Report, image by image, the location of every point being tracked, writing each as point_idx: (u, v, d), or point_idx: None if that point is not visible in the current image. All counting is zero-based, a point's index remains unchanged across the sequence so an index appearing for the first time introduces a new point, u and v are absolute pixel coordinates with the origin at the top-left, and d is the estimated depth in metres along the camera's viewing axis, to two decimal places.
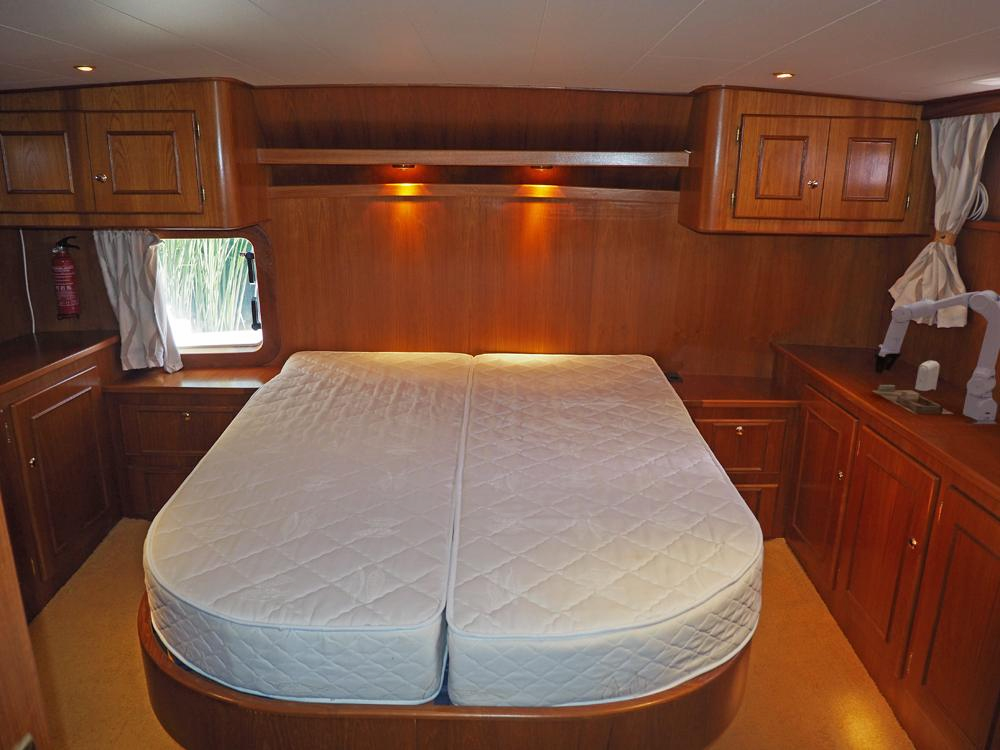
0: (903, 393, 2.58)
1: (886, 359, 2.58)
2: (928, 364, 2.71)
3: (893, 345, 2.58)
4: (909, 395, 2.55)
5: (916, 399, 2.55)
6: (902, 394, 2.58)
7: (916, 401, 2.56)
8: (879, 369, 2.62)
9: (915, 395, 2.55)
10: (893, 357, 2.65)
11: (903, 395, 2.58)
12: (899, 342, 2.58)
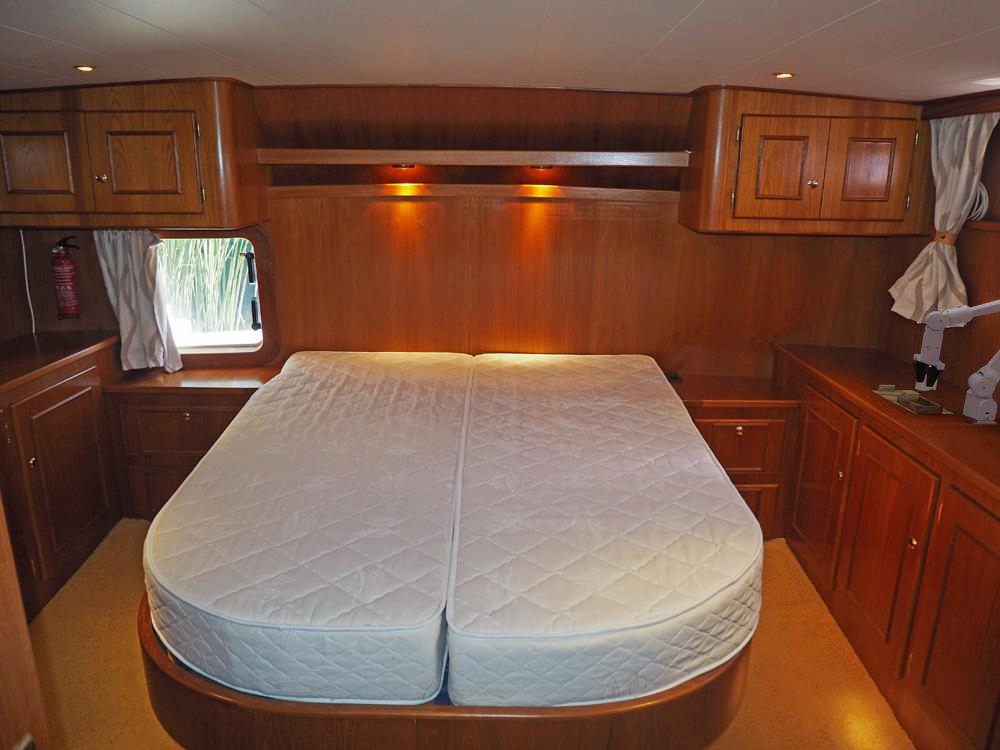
0: (903, 393, 2.58)
1: (941, 370, 2.42)
2: None
3: (938, 355, 2.43)
4: (909, 395, 2.55)
5: (916, 399, 2.55)
6: (902, 394, 2.58)
7: (916, 401, 2.56)
8: (931, 382, 2.45)
9: (915, 395, 2.55)
10: (924, 368, 2.50)
11: (903, 395, 2.58)
12: None
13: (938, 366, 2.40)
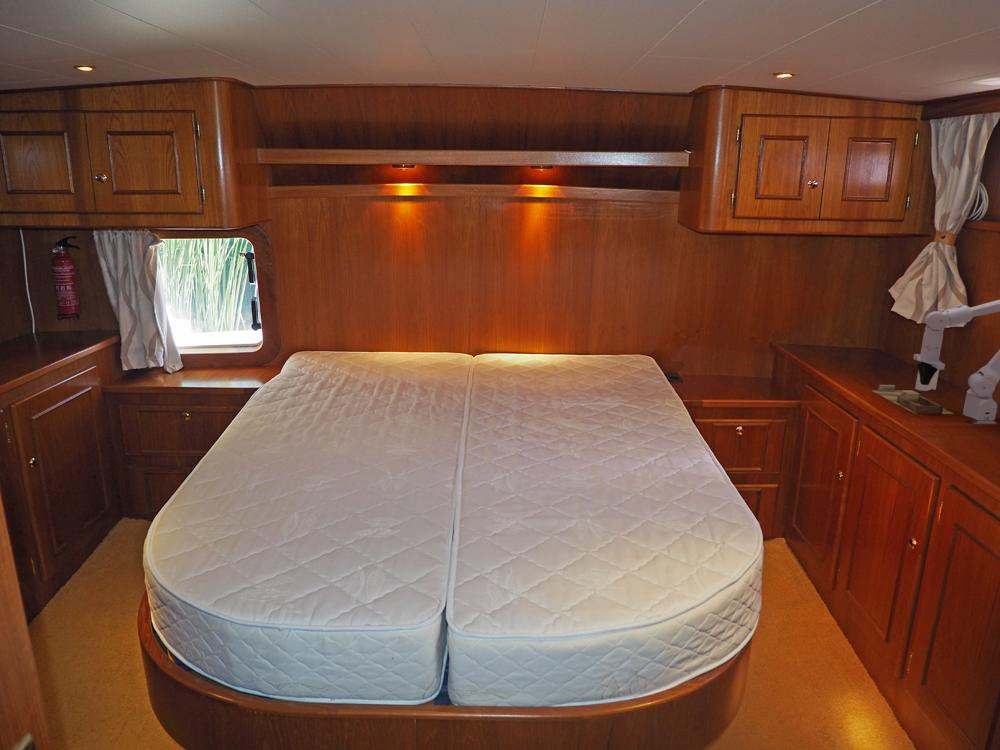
0: (903, 393, 2.58)
1: (936, 368, 2.45)
2: None
3: (938, 355, 2.43)
4: (909, 395, 2.55)
5: (916, 399, 2.55)
6: (902, 394, 2.58)
7: (916, 401, 2.56)
8: (926, 380, 2.47)
9: (915, 395, 2.55)
10: None
11: (903, 395, 2.58)
12: None
13: (938, 366, 2.40)
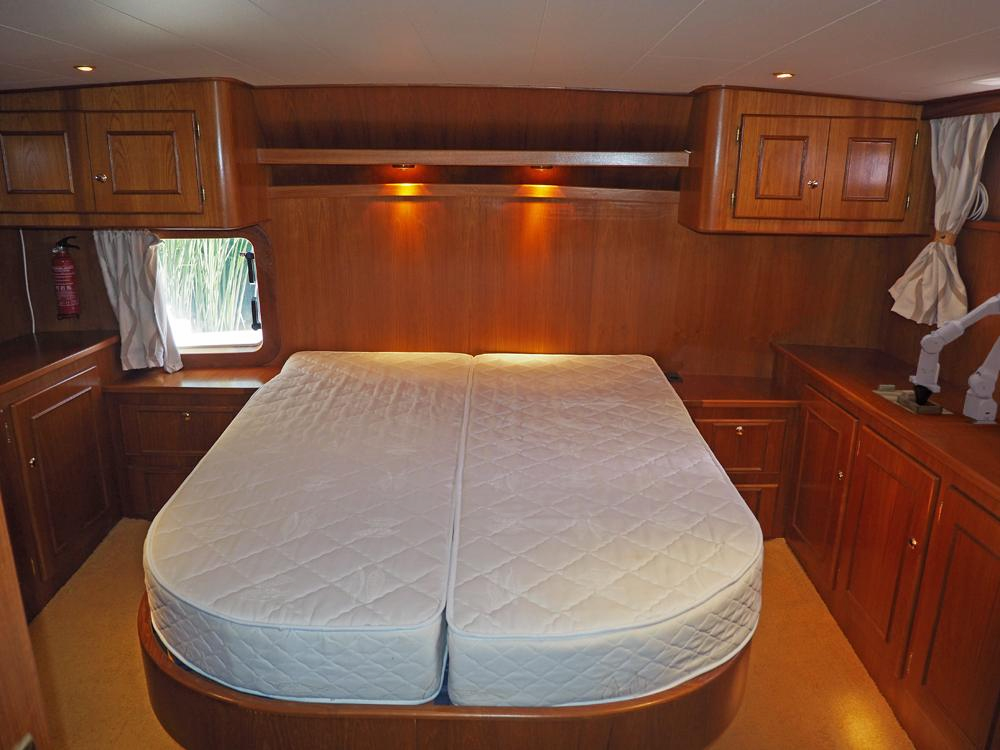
0: (903, 393, 2.58)
1: None
2: None
3: (933, 377, 2.46)
4: (909, 395, 2.55)
5: None
6: (902, 394, 2.58)
7: None
8: (922, 402, 2.50)
9: None
10: None
11: (903, 395, 2.58)
12: (935, 372, 2.46)
13: (933, 389, 2.42)
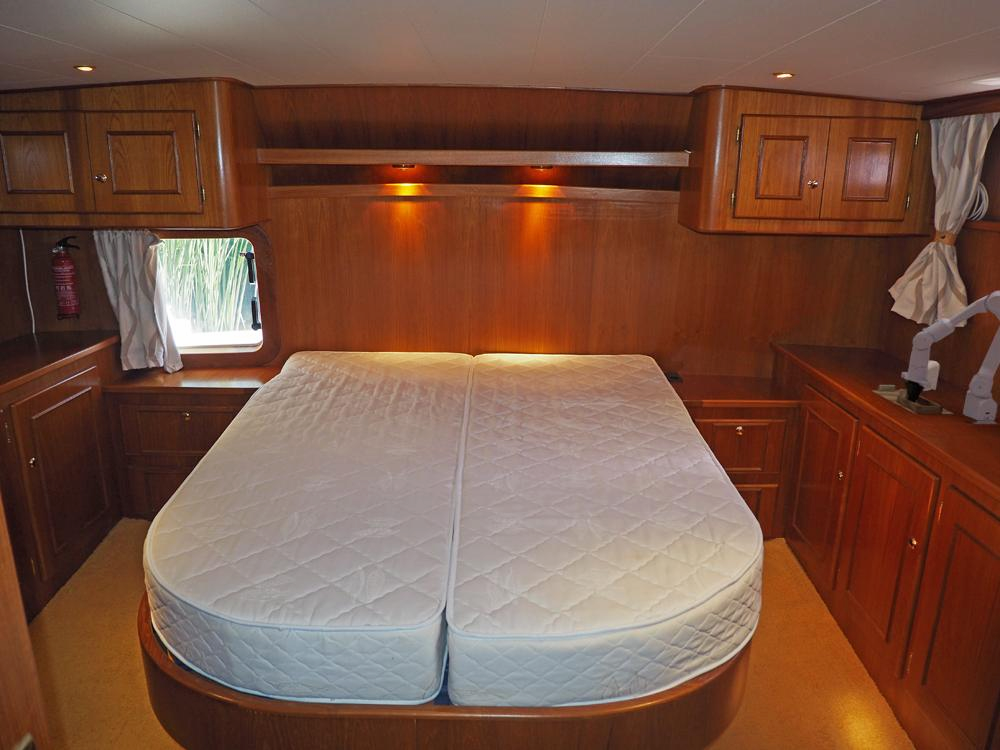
0: (901, 392, 2.59)
1: (923, 386, 2.52)
2: (928, 364, 2.71)
3: (925, 373, 2.50)
4: (906, 394, 2.56)
5: None
6: (900, 393, 2.60)
7: None
8: (914, 398, 2.55)
9: None
10: None
11: (901, 394, 2.59)
12: None
13: (925, 385, 2.47)
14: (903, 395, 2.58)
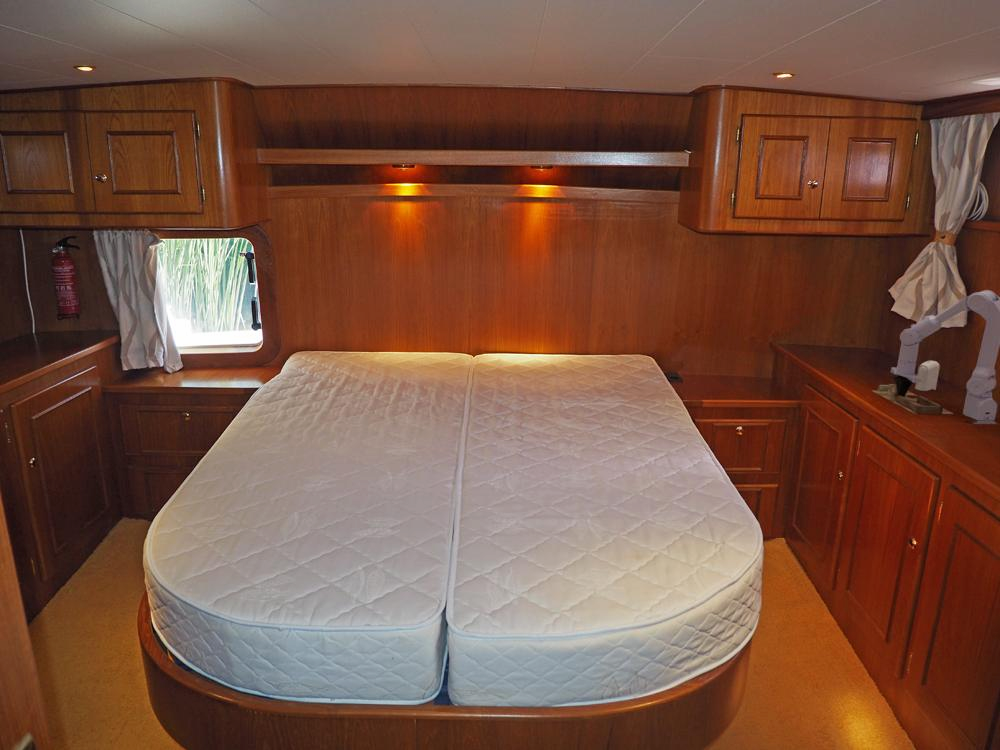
0: (890, 386, 2.66)
1: (912, 381, 2.58)
2: (928, 364, 2.71)
3: (913, 368, 2.57)
4: (896, 388, 2.63)
5: None
6: (889, 387, 2.66)
7: None
8: (903, 392, 2.61)
9: None
10: None
11: (890, 388, 2.66)
12: (915, 364, 2.58)
13: (913, 379, 2.53)
14: (892, 390, 2.64)
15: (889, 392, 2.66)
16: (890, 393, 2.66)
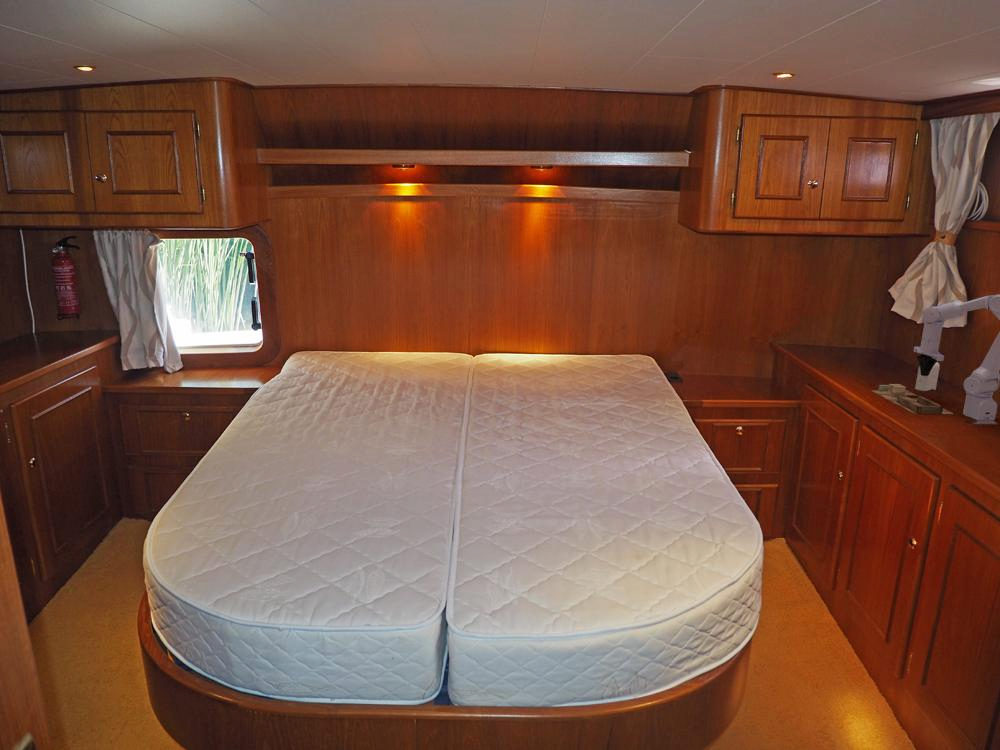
0: (890, 386, 2.66)
1: (936, 360, 2.57)
2: None
3: (937, 347, 2.55)
4: (896, 388, 2.63)
5: (903, 392, 2.63)
6: (889, 387, 2.66)
7: (903, 394, 2.64)
8: (926, 371, 2.60)
9: (902, 388, 2.63)
10: None
11: (890, 388, 2.66)
12: (939, 342, 2.56)
13: (937, 358, 2.52)
14: (892, 390, 2.64)
15: (889, 392, 2.66)
16: (890, 393, 2.66)
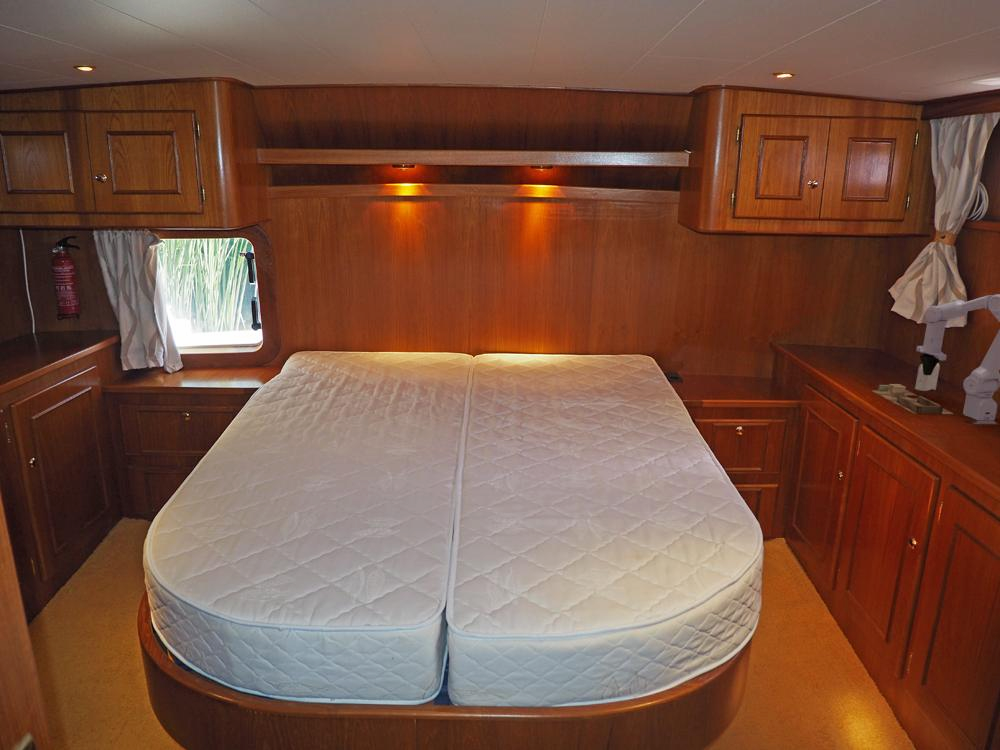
0: (890, 386, 2.66)
1: (938, 359, 2.57)
2: None
3: (940, 346, 2.56)
4: (896, 388, 2.63)
5: (903, 392, 2.63)
6: (889, 387, 2.66)
7: (903, 394, 2.64)
8: (929, 370, 2.60)
9: (902, 388, 2.63)
10: (931, 361, 2.60)
11: (890, 388, 2.66)
12: None
13: (940, 357, 2.53)
14: (892, 390, 2.64)
15: (889, 392, 2.66)
16: (890, 393, 2.66)
